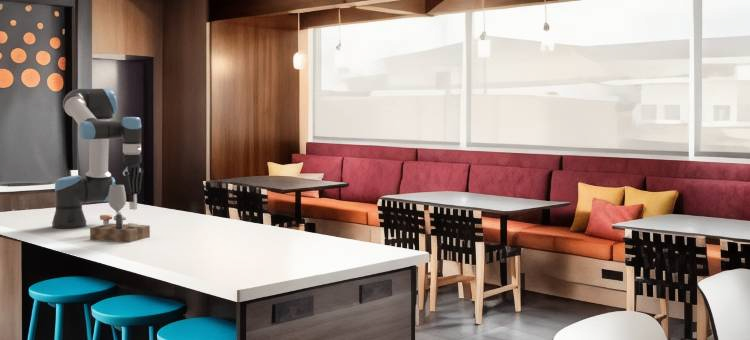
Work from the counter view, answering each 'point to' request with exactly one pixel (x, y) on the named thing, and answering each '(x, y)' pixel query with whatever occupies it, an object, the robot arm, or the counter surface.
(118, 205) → the wineglass
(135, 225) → the knob
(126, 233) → the brown wooden holder block
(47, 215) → the counter surface
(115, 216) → the knob mid
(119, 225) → the gray rod
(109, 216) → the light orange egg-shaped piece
